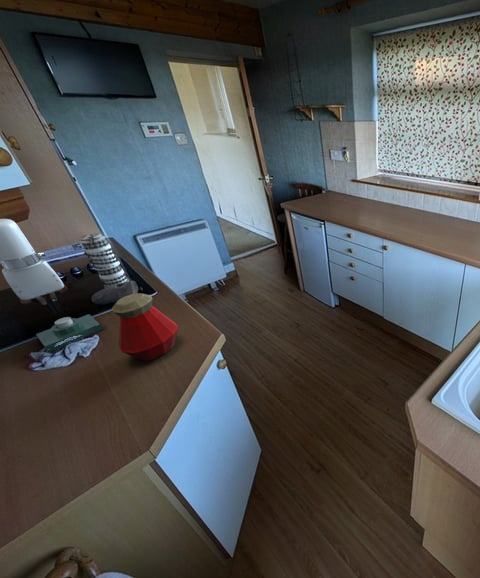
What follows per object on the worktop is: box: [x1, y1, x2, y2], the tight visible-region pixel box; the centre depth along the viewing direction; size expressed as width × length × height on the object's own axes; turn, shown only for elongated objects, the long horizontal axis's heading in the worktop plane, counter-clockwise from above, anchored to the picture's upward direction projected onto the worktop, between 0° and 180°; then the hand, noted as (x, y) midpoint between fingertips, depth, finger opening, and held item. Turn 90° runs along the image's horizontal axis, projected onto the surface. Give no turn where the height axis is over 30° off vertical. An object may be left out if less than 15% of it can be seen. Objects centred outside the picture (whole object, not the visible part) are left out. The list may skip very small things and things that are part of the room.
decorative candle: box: [79, 233, 130, 289], centre depth 122 cm, size 9×9×25 cm
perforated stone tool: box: [91, 280, 139, 306], centre depth 119 cm, size 15×5×7 cm, turn 128°
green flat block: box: [35, 314, 104, 353], centre depth 100 cm, size 14×11×4 cm
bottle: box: [111, 292, 179, 362], centre depth 89 cm, size 16×14×20 cm
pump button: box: [54, 316, 74, 329], centre depth 99 cm, size 4×4×2 cm
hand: (56, 311), depth 97 cm, fingers closed
